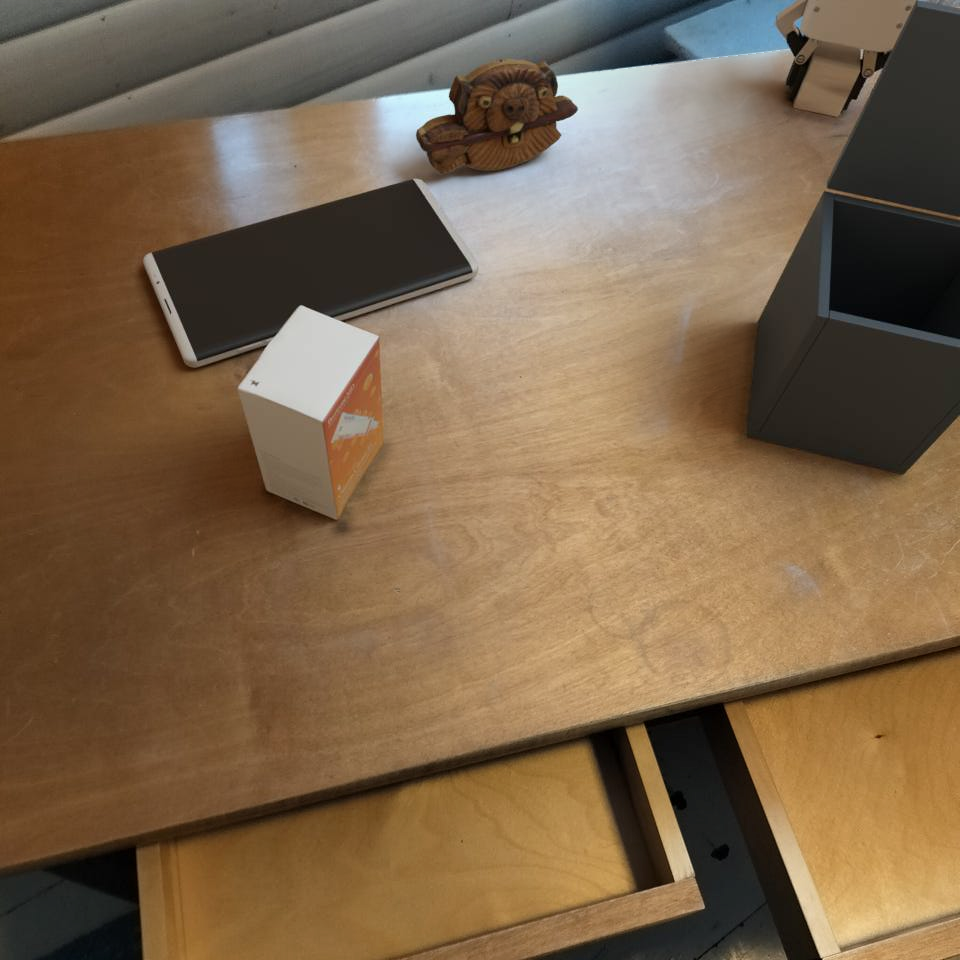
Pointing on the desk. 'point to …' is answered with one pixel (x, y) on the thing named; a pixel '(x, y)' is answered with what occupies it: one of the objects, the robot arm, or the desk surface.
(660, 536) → the desk surface
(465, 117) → the wooden carving
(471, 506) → the desk surface
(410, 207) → the smartphone
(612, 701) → the desk surface
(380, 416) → the small box
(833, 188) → the lid
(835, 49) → the block
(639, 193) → the desk surface
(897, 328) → the chest
